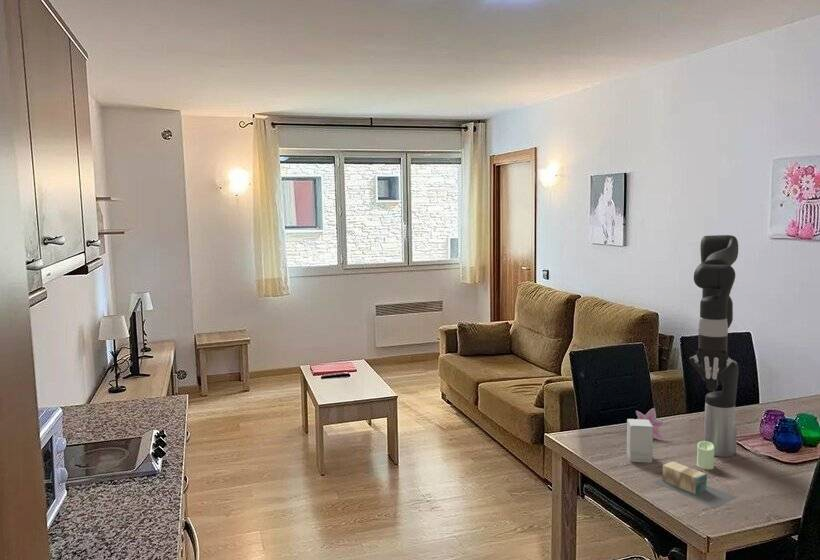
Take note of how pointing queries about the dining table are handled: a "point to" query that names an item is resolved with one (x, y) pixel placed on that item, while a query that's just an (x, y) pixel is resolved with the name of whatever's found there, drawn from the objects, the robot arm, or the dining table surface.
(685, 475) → the block
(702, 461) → the candle
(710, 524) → the dining table surface
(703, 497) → the mat
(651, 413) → the lily
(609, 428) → the dining table surface
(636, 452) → the supplement box
